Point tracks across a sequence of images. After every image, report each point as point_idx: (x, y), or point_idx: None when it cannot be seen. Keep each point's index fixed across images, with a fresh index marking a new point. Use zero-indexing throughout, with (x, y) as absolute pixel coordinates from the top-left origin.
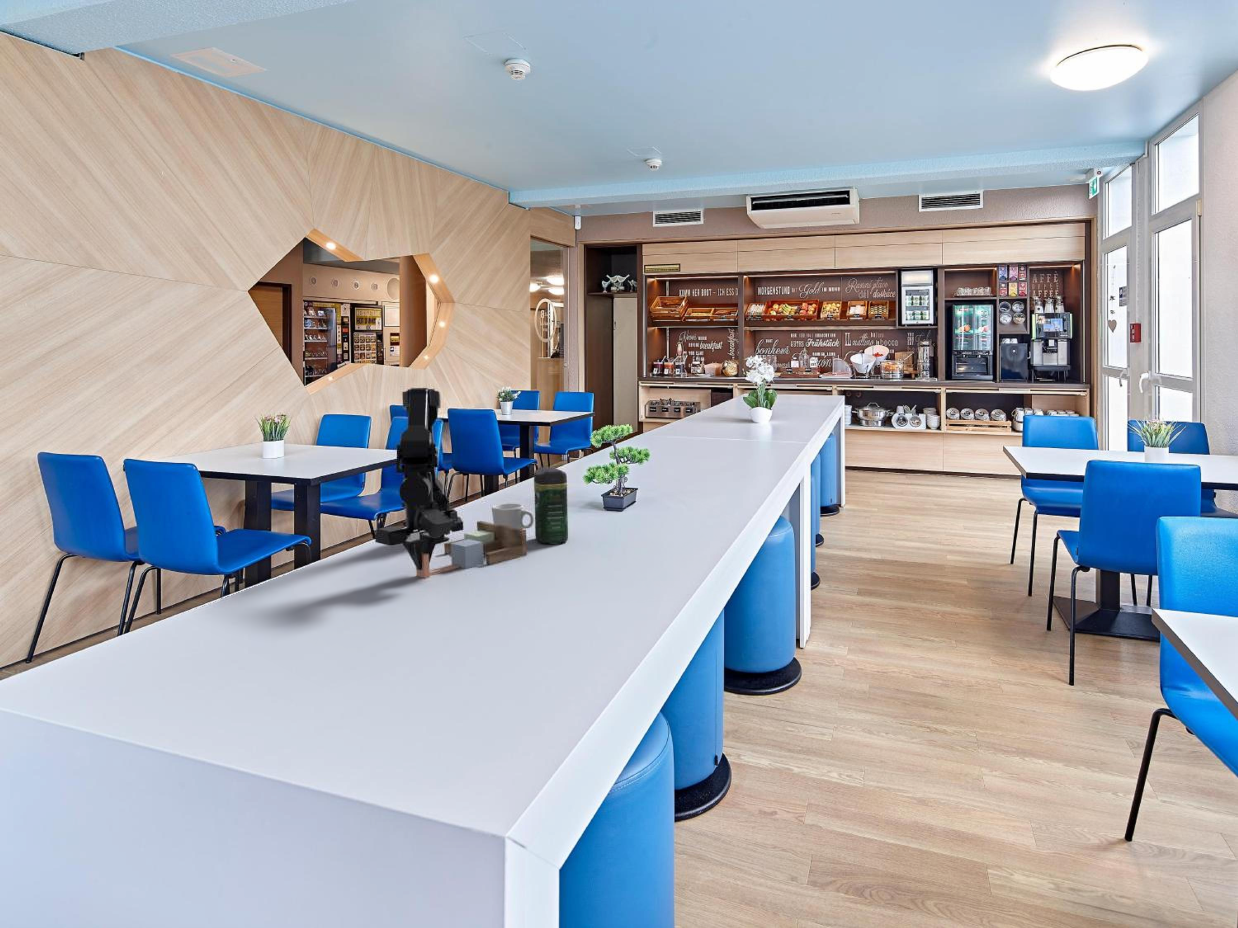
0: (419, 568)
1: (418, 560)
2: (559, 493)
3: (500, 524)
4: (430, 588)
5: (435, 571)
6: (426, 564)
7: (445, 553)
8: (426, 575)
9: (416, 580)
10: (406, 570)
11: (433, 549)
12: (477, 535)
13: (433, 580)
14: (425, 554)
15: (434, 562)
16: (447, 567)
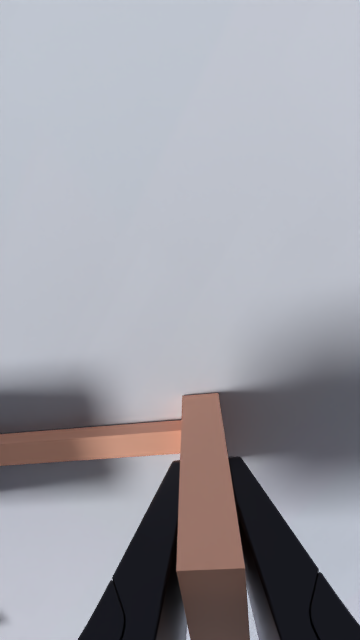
0: (245, 468)
1: (286, 526)
2: None
3: None
4: (352, 135)
5: (118, 436)
6: (206, 467)
7: None
8: (206, 403)
9: (280, 390)
10: None
11: (86, 631)
12: None
13: (205, 317)
14: (210, 578)
15: (37, 568)
16: (21, 456)
